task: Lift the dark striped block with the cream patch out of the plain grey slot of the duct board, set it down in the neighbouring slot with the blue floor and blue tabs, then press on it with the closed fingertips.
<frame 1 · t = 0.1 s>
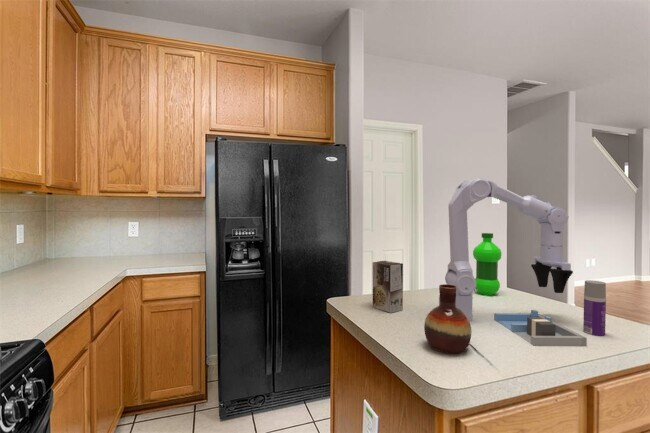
hand: (550, 289, 103), 10 cm above the counter, fingers open, 7 cm apart
vase: (447, 348, 84), on the counter
plastic bottle: (486, 294, 139), on the counter
coffee box: (387, 309, 117), on the counter
duct board: (535, 335, 93), on the counter
dark striped block: (540, 337, 88), point 1 cm above the counter, touching duct board
container: (594, 337, 92), on the counter
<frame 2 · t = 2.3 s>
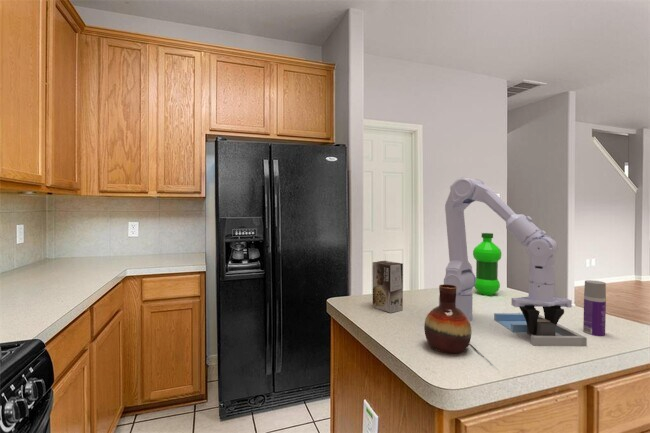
hand: (540, 333, 88), 2 cm above the counter, fingers closed on dark striped block, 4 cm apart
dark striped block: (540, 337, 88), point 1 cm above the counter, touching duct board, gripper
everything else where it was.
when the fingers open (4 cm above the counter, at t = 5.3 s): dark striped block drops 1 cm, resting on duct board.
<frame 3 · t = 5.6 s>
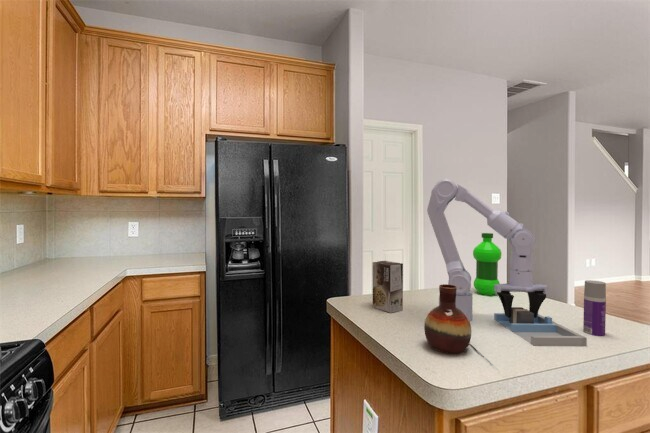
hand: (520, 316, 97), 4 cm above the counter, fingers open, 7 cm apart
dark striped block: (521, 325, 97), point 1 cm above the counter, touching duct board
everything else where it was.
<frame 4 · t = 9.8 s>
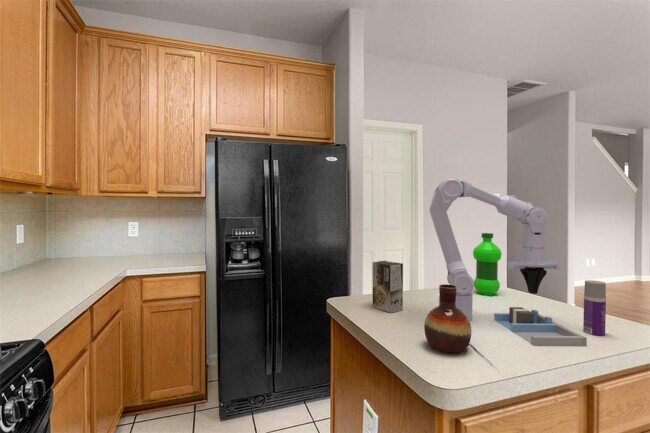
hand: (532, 293, 100), 10 cm above the counter, fingers closed
nothing on the counter moved.
at the end: dark striped block 0.5 cm from the target spot, point 1.1 cm above the counter; dark striped block tilted 0°; the gripper is holding nothing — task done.
